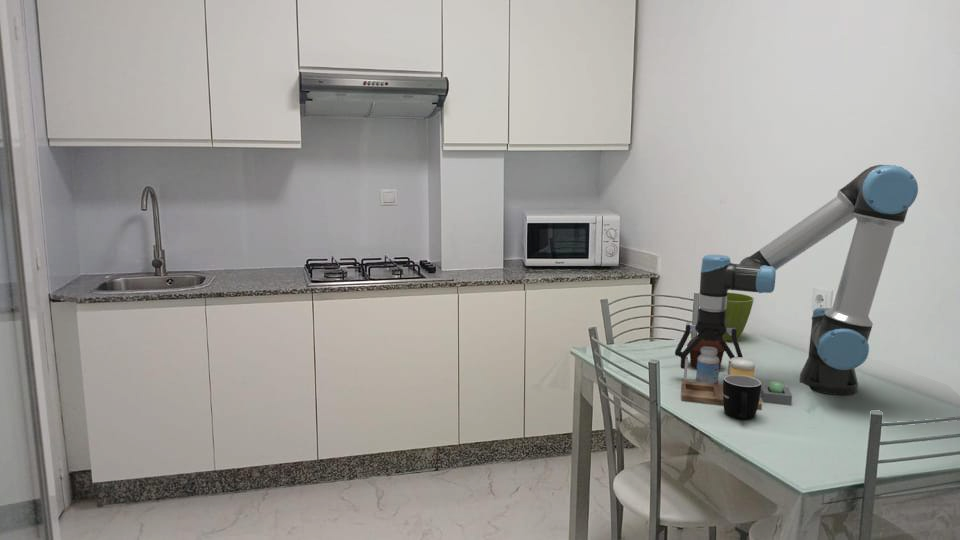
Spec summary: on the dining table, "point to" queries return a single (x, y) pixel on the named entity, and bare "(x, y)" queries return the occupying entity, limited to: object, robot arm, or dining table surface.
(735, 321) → the flower pot
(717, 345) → the muffin
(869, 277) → the robot arm
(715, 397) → the pallet board
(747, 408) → the mug
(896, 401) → the dining table surface
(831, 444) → the dining table surface
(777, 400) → the button housing
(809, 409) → the dining table surface
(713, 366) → the pill bottle
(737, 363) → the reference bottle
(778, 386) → the button plunger
